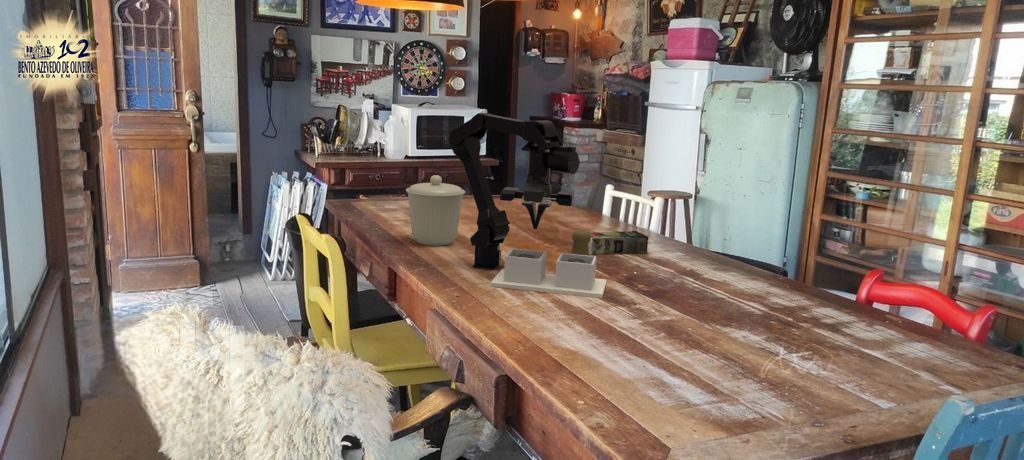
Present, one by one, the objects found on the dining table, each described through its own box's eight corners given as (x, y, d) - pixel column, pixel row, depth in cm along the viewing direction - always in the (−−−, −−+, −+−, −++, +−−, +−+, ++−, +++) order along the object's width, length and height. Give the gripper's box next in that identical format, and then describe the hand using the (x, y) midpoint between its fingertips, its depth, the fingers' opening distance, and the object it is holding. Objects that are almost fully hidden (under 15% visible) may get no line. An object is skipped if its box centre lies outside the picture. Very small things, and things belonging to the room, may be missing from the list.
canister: (460, 250, 218) (463, 180, 214) (400, 247, 218) (401, 177, 214) (465, 237, 236) (468, 173, 231) (409, 234, 236) (411, 170, 231)
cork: (588, 272, 200) (591, 233, 198) (566, 270, 201) (569, 231, 199) (590, 267, 206) (593, 229, 204) (569, 265, 207) (572, 227, 205)
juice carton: (587, 255, 220) (589, 236, 219) (575, 248, 230) (577, 229, 228) (647, 255, 226) (649, 236, 225) (633, 248, 235) (635, 229, 234)
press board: (490, 286, 182) (491, 257, 181) (502, 272, 196) (503, 245, 194) (602, 298, 177) (604, 268, 176) (606, 283, 191) (608, 255, 189)
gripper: (496, 170, 181) (493, 231, 184) (571, 176, 178) (566, 238, 181) (505, 165, 192) (503, 223, 195) (576, 171, 189) (572, 229, 192)
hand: (535, 228), depth 191 cm, fingers closed
